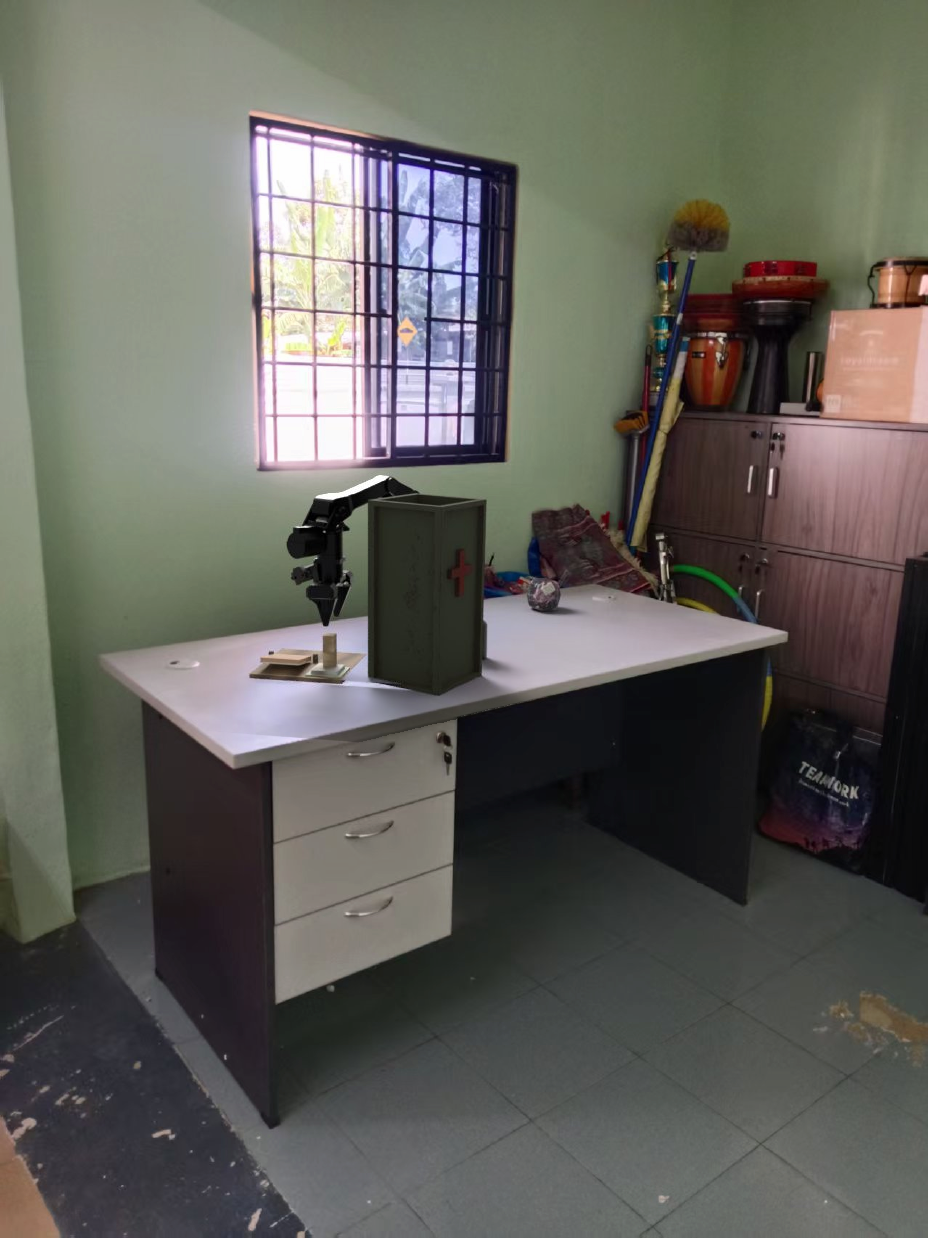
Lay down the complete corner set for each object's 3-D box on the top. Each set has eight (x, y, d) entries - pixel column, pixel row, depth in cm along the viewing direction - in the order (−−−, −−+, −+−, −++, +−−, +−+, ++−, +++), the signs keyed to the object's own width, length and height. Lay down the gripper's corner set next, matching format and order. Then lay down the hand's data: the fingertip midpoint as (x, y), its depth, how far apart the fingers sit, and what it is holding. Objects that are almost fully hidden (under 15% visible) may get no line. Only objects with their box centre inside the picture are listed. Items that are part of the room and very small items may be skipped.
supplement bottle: (490, 656, 238) (491, 608, 236) (481, 663, 232) (483, 614, 229) (463, 653, 241) (464, 605, 238) (454, 660, 234) (455, 611, 232)
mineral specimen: (522, 606, 285) (525, 573, 287) (529, 613, 295) (532, 581, 297) (555, 608, 282) (558, 574, 284) (561, 615, 292) (564, 582, 294)
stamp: (344, 668, 221) (344, 633, 219) (337, 675, 215) (337, 640, 213) (319, 666, 222) (318, 632, 220) (311, 673, 216) (310, 638, 214)
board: (366, 657, 235) (366, 646, 234) (341, 684, 213) (341, 671, 213) (281, 652, 237) (281, 640, 237) (249, 678, 216) (249, 665, 216)
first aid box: (414, 662, 231) (416, 493, 222) (481, 675, 222) (486, 499, 213) (367, 681, 216) (367, 500, 207) (438, 695, 207) (441, 506, 198)
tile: (299, 659, 217) (299, 665, 217) (311, 655, 226) (311, 661, 226) (260, 657, 218) (260, 662, 218) (273, 653, 227) (273, 658, 227)
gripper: (306, 544, 227) (308, 610, 230) (281, 559, 209) (283, 629, 212) (353, 546, 225) (354, 612, 229) (332, 561, 207) (333, 632, 211)
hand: (331, 621), depth 220 cm, fingers open, 9 cm apart
